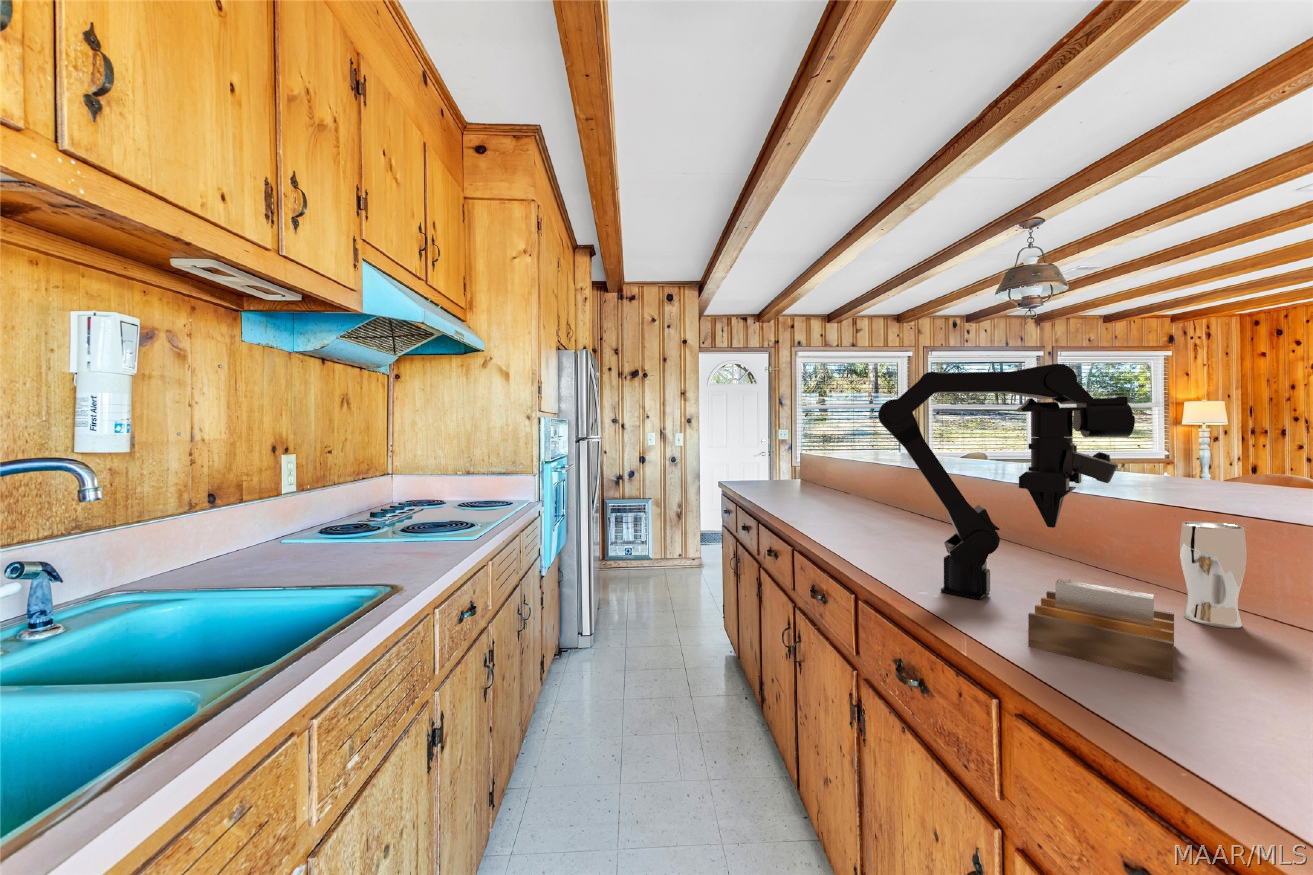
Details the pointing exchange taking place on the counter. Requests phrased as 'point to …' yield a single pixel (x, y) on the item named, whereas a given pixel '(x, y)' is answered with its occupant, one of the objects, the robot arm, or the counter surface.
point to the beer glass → (1213, 571)
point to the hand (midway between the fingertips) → (1051, 527)
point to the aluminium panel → (1105, 602)
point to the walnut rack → (1104, 639)
